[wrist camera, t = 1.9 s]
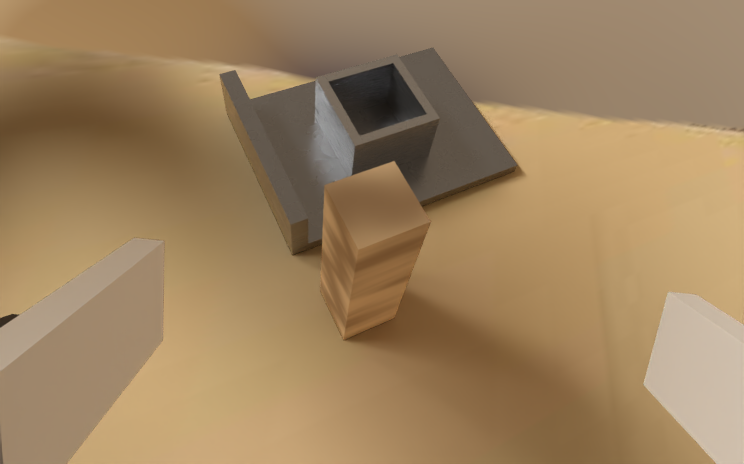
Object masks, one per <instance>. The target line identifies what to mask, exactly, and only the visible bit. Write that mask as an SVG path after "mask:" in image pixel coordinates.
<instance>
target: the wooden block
mask: <svg viewBox="0 0 744 464" xmlns="http://www.w3.org/2000/svg"><path fill="white" fill-rule="evenodd" d="M430 223H431V221H430V219H429V218H428V216H427V214H426V213H425V211H424V209H423V208H422V206H421V204H420V203H419V201H418V199H417V198H416V196H415V194H414V193H413V191H412V189H411V188H410V186H409V184H408V183H407V181H406V179H405V178H404V176H403V175H402V173H401V171H400V170H399V168H398V166H397V165H396V163H395V161H393V162H390V163H387V164H384V165H381V166H378V167H375V168H372V169H370V170H367V171H364V172H361V173H358V174H355V175H352V176H349V177H346V178H343V179H341V180H338V181H335V182H332V183H329V184H326V185H324V209H323V234H322V259H321V284H320V292H321V294H322V296H323V298H324V300H325V302H326V304H327V307H328V309H329V311H330V313H331V315H332V317H333V319H334V321H335V324H336V326H337V328H338V330H339V332H340V334H341V336H342V338H343V340H345V339H348V338H350V337H352V336H354V335H357V334H359V333H361V332H363V331H366V330H368V329H370V328H373V327H375V326H377V325H379V324H382V323H384V322H386V321H389V320H391V319H393V318H395V315H396V313H397V310H398V307H399V305H400V302H401V299H402V297H403V294H404V291H405V289H406V286H407V284H408V281H409V278H410V276H411V273H412V270H413V268H414V265H415V262H416V260H417V257H418V254H419V252H420V249H421V246H422V244H423V241H424V238H425V236H426V233H427V230H428V228H429V225H430Z"/></svg>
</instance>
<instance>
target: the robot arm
mask: <svg viewBox="0 0 744 464" xmlns="http://www.w3.org/2000/svg"><path fill="white" fill-rule="evenodd" d="M163 307H164V241H161V240H151V239H141V238H133V239H131V240H130V241H128V242H127V243H125V244H124V245H122V246H121V247H119V248H118V249H116V250H115V251H113V252H112V253H110V254H109V255H108V256H106V257H105V258H103V259H102V260H100V261H99V262H97V263H96V264H94V265H93V266H91V267H90V268H88V269H87V270H85V271H84V272H82V273H81V274H79V275H78V276H76V277H75V278H73V279H72V280H70V281H69V282H68V283H66V284H65V285H63V286H62V287H60V288H59V289H57V290H56V291H54V292H53V293H51V294H50V295H48V296H47V297H45V298H44V299H42V300H41V301H39V302H38V303H36V304H35V305H33V306H32V307H31V308H29V309H28V310H26V311H25V312H23V313H22V314H20V315H17V314H11V315H8V316H5V317H3V318H0V464H67V463H68V461H69V460H70V459H71V458H72V456H73V455H74V454H75V452H76V451H77V450H78V449H79V447H80V446H81V445H82V443H83V442H84V441H85V440H86V438H87V437H88V436H89V434H90V433H91V432H92V431H93V429H94V428H95V427H96V425H97V424H98V423H99V422H100V420H101V419H102V418H103V416H104V415H105V414H106V413H107V411H108V410H109V409H110V407H111V406H112V405H113V404H114V402H115V401H116V400H117V398H118V397H119V396H120V395H121V393H122V392H123V391H124V390H125V388H126V387H127V386H128V384H129V383H130V382H131V381H132V379H133V378H134V377H135V375H136V374H137V373H138V372H139V370H140V369H141V368H142V366H143V365H144V364H145V363H146V361H147V360H148V359H149V357H150V356H151V355H152V354H153V352H154V351H155V350H156V348H157V347H158V346H159V345H160V343H161V342H162V341H163ZM643 385H644V386H645V387H646V388H647V389H648V390H649V392H650V393H651V394H652V395H653V396H654V397H655V398H656V399H657V400H658V401H659V402H660V403H661V404H662V406H663V407H664V408H665V409H666V410H667V411H668V412H669V413H670V414H671V415H672V416H673V417H674V418H675V420H676V421H677V422H678V423H679V424H680V425H681V426H682V427H683V428H684V429H685V430H686V431H687V432H688V434H689V435H690V436H691V437H692V438H693V439H694V440H695V441H696V442H697V443H698V444H699V445H700V446H701V448H702V449H703V450H704V451H705V452H706V453H707V454H708V455H709V456H710V457H711V458H712V459H713V460H714V462H715V463H716V464H744V325H743V324H742V323H740V322H739V321H737V320H735V319H734V318H732V317H731V316H729V315H728V314H726V313H724V312H723V311H721V310H720V309H718V308H717V307H715V306H713V305H712V304H710V303H709V302H707V301H706V300H704V299H702V298H701V297H699V296H698V295H696V294H686V293H676V292H668V294H667V298H666V301H665V305H664V309H663V313H662V316H661V320H660V324H659V328H658V331H657V335H656V339H655V343H654V346H653V350H652V354H651V358H650V361H649V365H648V369H647V373H646V377H645V380H644V384H643Z"/></svg>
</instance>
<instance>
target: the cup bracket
mask: <svg viewBox="0 0 744 464" xmlns="http://www.w3.org/2000/svg"><path fill="white" fill-rule="evenodd" d="M219 75H220V80H221V85H222V90H223V95H224V101H225V106H226V111H227V115H228V117H229V119H230V121H231V123H232V126H233V128H234V130H235V132H236V134H237V136H238V139H239V141H240V143H241V145H242V147H243V149H244V151H245V154H246V156H247V158H248V160H249V162H250V164H251V167H252V169H253V171H254V173H255V175H256V177H257V180H258V182H259V184H260V186H261V188H262V190H263V193H264V195H265V197H266V199H267V201H268V203H269V206H270V208H271V210H272V212H273V214H274V216H275V218H276V221H277V223H278V225H279V227H280V229H281V231H282V234H283V236H284V238H285V240H286V242H287V244H288V247H289V249H290V251H291V253H292V255H294V254H297V253H300V252H302V251H305V250H307V249H310V248H313V247H315V246H318V245H321V244H322V234H323V209H324V185H326V184H329V183H332V182H335V181H338V180H341V179H343V178H346V177H349V176H352V175H355V174H358V173H361V172H364V171H367V170H370V169H372V168H375V167H378V166H381V165H384V164H387V163H390V162H393V161H395V163H396V165H397V166H398V168H399V170H400V171H401V173H402V175H403V176H404V178H405V179H406V181H407V183H408V184H409V186H410V188H411V189H412V191H413V193H414V194H415V196H416V198H417V199H418V201H419V203H420V204H421V206H424V205H427V204H429V203H432V202H434V201H437V200H440V199H442V198H445V197H448V196H450V195H453V194H456V193H458V192H461V191H464V190H466V189H469V188H471V187H474V186H477V185H479V184H482V183H485V182H487V181H490V180H493V179H495V178H498V177H501V176H503V175H506V174H509V173H511V172H514V170H515V169H516V167H517V164H516V162H515V161H514V160H513V158H512V157H511V156H510V154H509V153H508V151H507V150H506V149H505V147H504V146H503V144H502V143H501V142H500V140H499V139H498V137H497V136H496V135H495V133H494V132H493V130H492V129H491V128H490V126H489V125H488V123H487V122H486V121H485V119H484V118H483V117H482V115H481V114H480V112H479V111H478V110H477V108H476V107H475V105H474V104H473V103H472V101H471V100H470V98H469V97H468V96H467V94H466V93H465V92H464V90H463V89H462V87H461V86H460V85H459V83H458V82H457V80H456V79H455V78H454V76H453V75H452V74H451V72H450V71H449V69H448V68H447V66H446V65H445V64H444V62H443V61H442V60H441V58H440V57H439V55H438V54H437V52H436V51H435V50H434V48H430V49H426V50H423V51H419V52H416V53H412V54H409V55H405V56H402V57H398V55H394V56H390V57H387V58H383V59H380V60H376V61H372V62H369V63H365V64H362V65H358V66H355V67H351V68H348V69H344V70H341V71H337V72H333V73H330V74H326V75H323V76H319V77H316V81H314V82H310V83H307V84H303V85H300V86H296V87H293V88H289V89H285V90H282V91H278V92H275V93H271V94H268V95H264V96H261V97H257V98H254V99H249V97H248V95H247V93H246V91H245V89H244V87H243V85H242V83H241V81H240V79H239V77H238V75H237V73H236V71H235V70H234V71H230V72H227V73H223V74H219Z"/></svg>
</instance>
